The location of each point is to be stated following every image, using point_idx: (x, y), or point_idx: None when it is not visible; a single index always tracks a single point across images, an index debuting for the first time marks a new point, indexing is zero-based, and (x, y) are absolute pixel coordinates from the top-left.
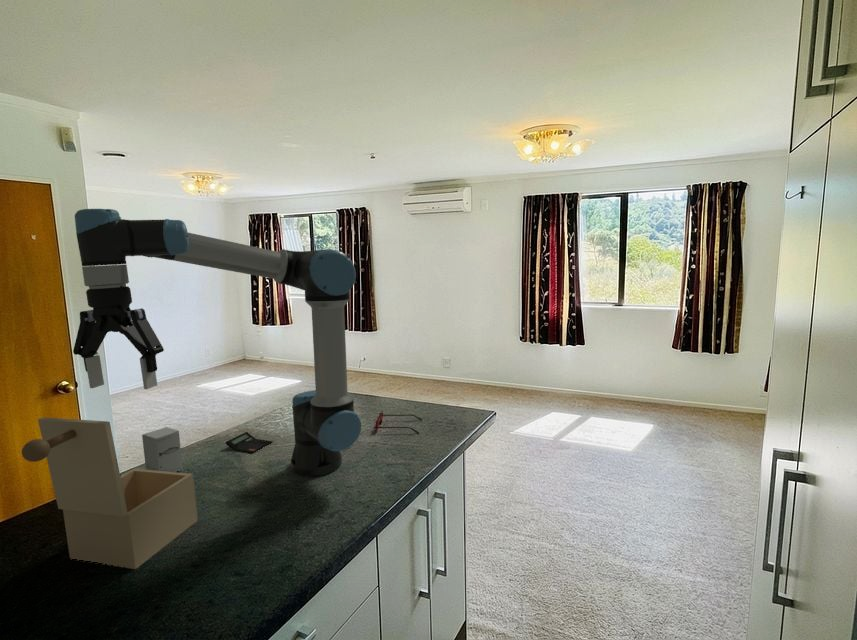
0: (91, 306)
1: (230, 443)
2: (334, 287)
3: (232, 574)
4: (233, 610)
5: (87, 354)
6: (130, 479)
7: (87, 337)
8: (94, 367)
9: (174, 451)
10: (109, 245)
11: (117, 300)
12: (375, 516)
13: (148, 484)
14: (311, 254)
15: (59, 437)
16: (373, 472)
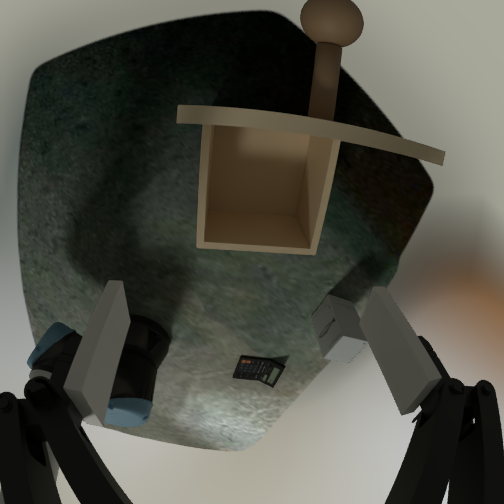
0: None
1: (279, 367)
2: None
3: (87, 124)
4: (58, 81)
5: (439, 397)
6: (309, 235)
7: (463, 470)
8: (398, 358)
9: (321, 331)
10: None
11: None
12: (20, 246)
13: (281, 235)
14: None
15: (321, 72)
16: (70, 323)
